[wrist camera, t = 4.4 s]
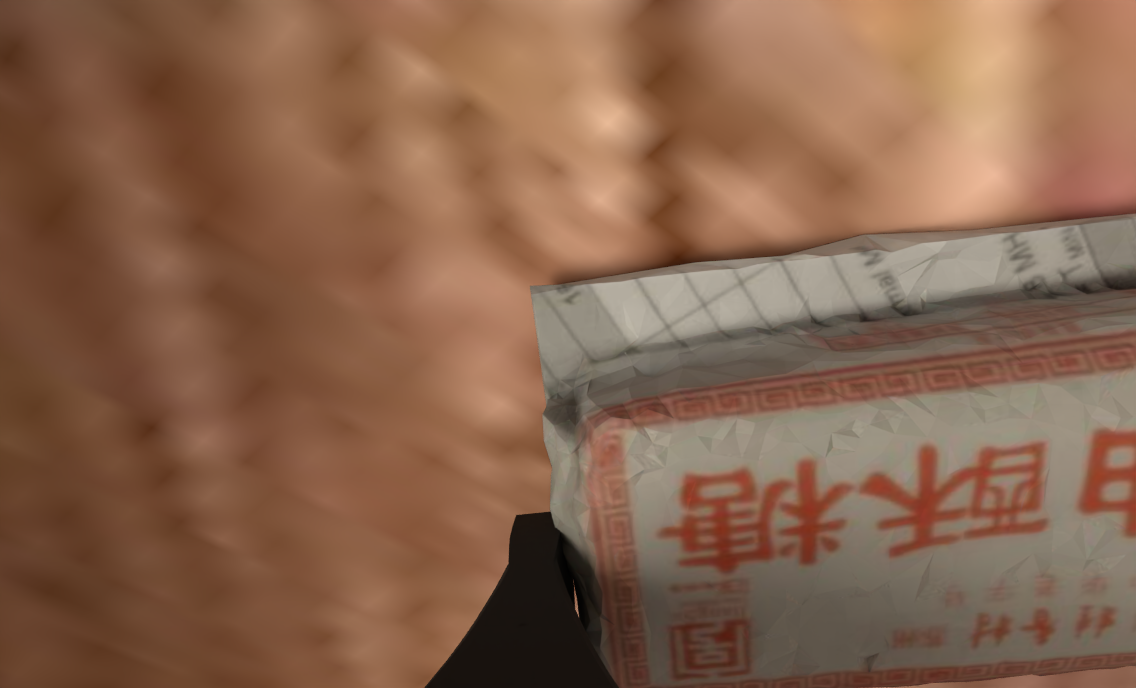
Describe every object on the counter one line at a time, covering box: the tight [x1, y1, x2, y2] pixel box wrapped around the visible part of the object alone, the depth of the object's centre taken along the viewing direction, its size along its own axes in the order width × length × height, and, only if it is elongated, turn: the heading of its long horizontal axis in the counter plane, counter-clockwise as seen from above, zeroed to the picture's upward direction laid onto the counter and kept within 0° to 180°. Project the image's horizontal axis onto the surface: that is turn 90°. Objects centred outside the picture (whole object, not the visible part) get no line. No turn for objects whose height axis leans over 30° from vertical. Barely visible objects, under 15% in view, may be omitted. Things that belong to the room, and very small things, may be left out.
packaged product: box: [530, 213, 1136, 688], centre depth 13 cm, size 18×5×10 cm
